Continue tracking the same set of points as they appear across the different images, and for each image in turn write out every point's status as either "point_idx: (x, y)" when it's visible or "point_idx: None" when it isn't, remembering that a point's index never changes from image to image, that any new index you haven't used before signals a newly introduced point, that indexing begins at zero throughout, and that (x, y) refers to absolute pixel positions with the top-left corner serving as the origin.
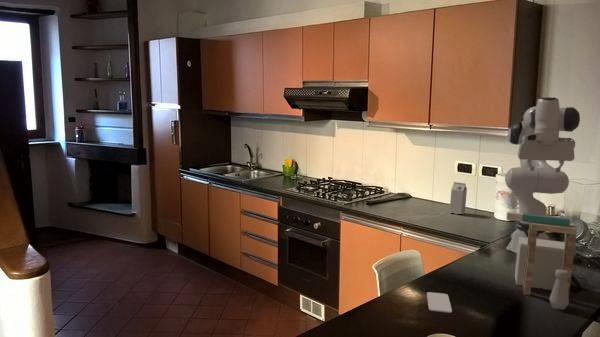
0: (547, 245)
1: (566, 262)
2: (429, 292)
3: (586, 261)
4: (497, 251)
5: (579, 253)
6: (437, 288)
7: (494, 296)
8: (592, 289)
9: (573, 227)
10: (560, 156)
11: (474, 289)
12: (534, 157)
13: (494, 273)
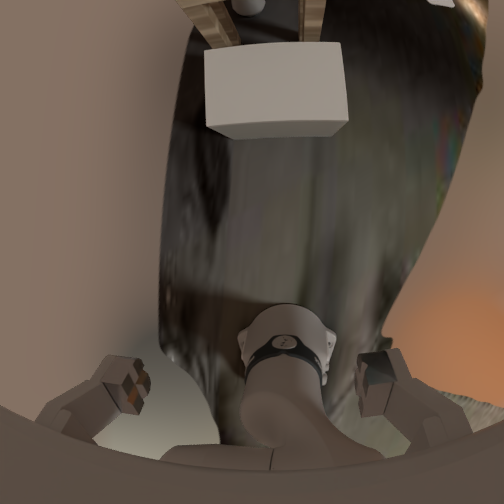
0: (262, 58)
1: (222, 1)
2: (452, 5)
3: (171, 321)
4: (358, 312)
5: (183, 367)
6: (449, 24)
7: (360, 11)
8: (174, 132)
9: None
10: (24, 460)
11: (398, 31)
12: (419, 477)
13: (374, 135)
